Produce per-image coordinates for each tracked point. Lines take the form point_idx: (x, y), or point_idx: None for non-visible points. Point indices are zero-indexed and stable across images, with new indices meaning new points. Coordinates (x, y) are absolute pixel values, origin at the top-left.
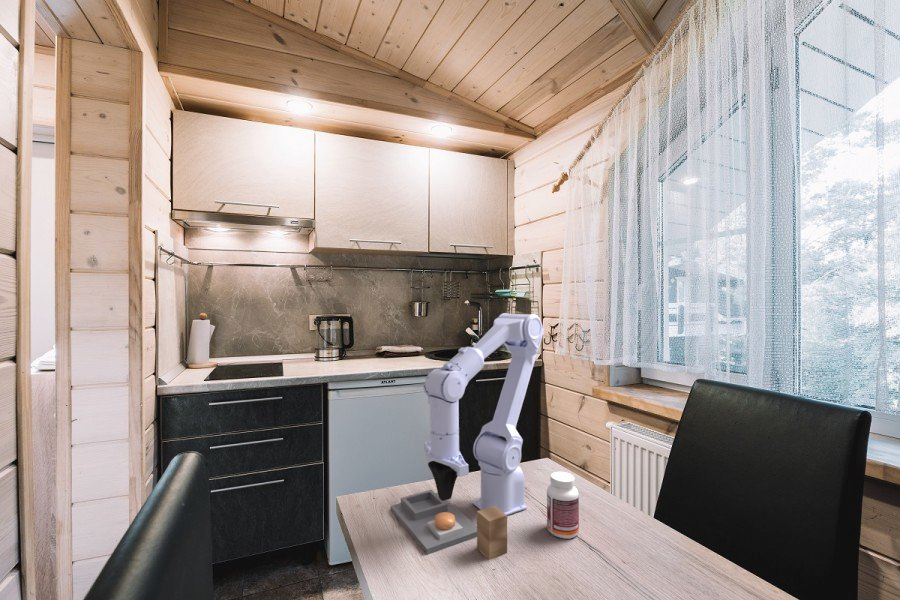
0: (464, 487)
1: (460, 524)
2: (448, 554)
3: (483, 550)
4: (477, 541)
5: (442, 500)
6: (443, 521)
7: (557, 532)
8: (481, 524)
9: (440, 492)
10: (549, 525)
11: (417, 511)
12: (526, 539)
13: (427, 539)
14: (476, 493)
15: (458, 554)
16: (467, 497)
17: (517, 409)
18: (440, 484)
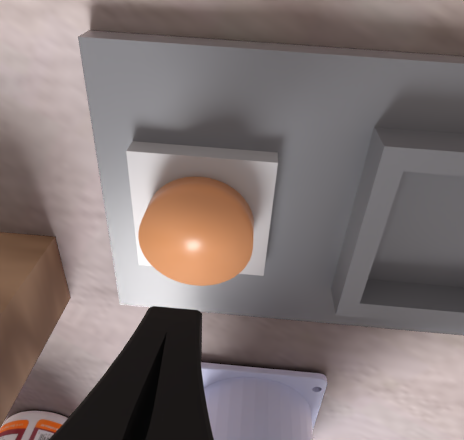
0: (451, 410)
1: None
2: (53, 123)
3: (2, 242)
4: (38, 255)
5: (151, 309)
6: (161, 218)
7: (13, 424)
8: None
9: (129, 353)
10: (37, 433)
11: (393, 168)
12: (46, 362)
13: (163, 87)
14: (379, 412)
15: (39, 159)
16: (382, 383)
17: None
18: (64, 429)
